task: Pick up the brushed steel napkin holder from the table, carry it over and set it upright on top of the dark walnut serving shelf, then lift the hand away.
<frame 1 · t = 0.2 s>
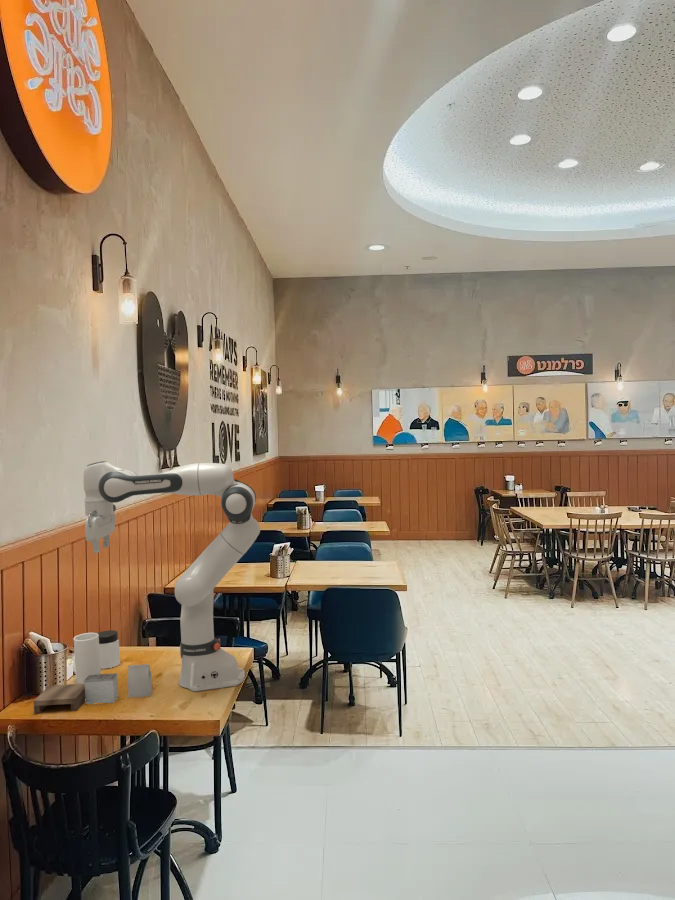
hand: (101, 549, 218), 47 cm above the table, tool pointing down, fingers open, 8 cm apart
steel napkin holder: (102, 701, 208), on the table
jar: (108, 665, 241), on the table
cup: (88, 681, 226), on the table
grey tapered block: (140, 695, 212), on the table
walnut shelf: (62, 704, 207), on the table
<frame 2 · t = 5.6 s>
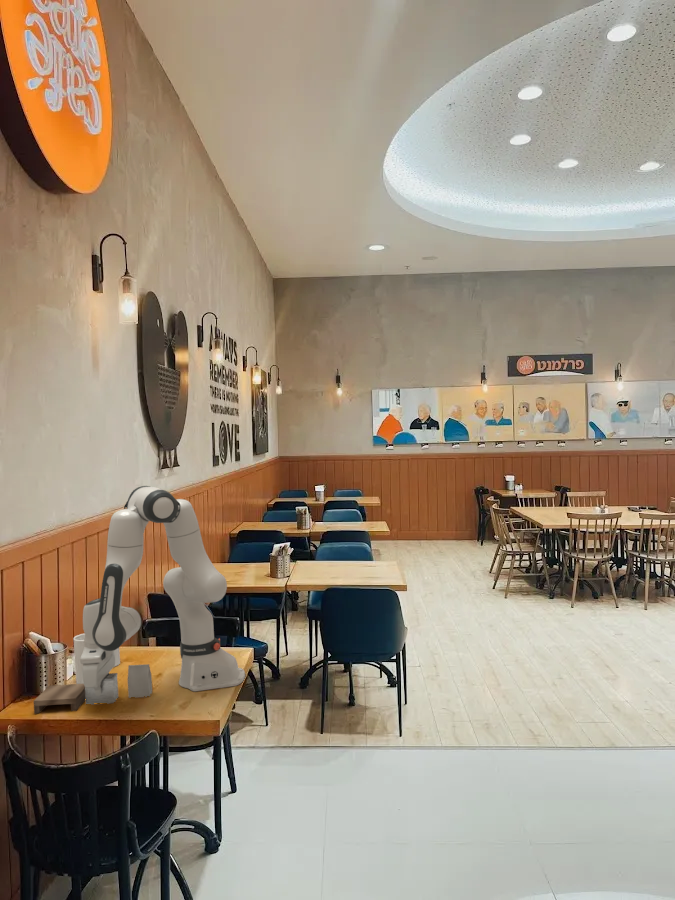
hand: (101, 690, 208), 3 cm above the table, tool pointing down, fingers closed on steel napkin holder, 4 cm apart
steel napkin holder: (102, 700, 208), on the table, touching gripper
everything else where it was.
when the fingers open (9 cm above the table, at t = 13.0 s): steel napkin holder drops 1 cm, resting on walnut shelf.
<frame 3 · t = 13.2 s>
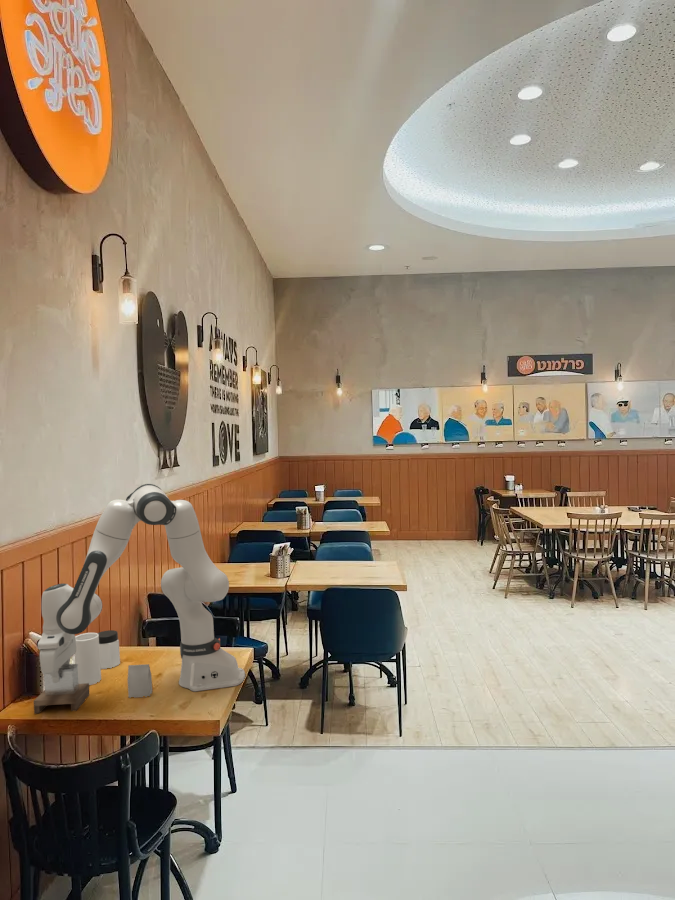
hand: (61, 677, 207), 9 cm above the table, tool pointing down, fingers open, 6 cm apart
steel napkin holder: (62, 691, 207), point 4 cm above the table, touching walnut shelf
everything else where it was.
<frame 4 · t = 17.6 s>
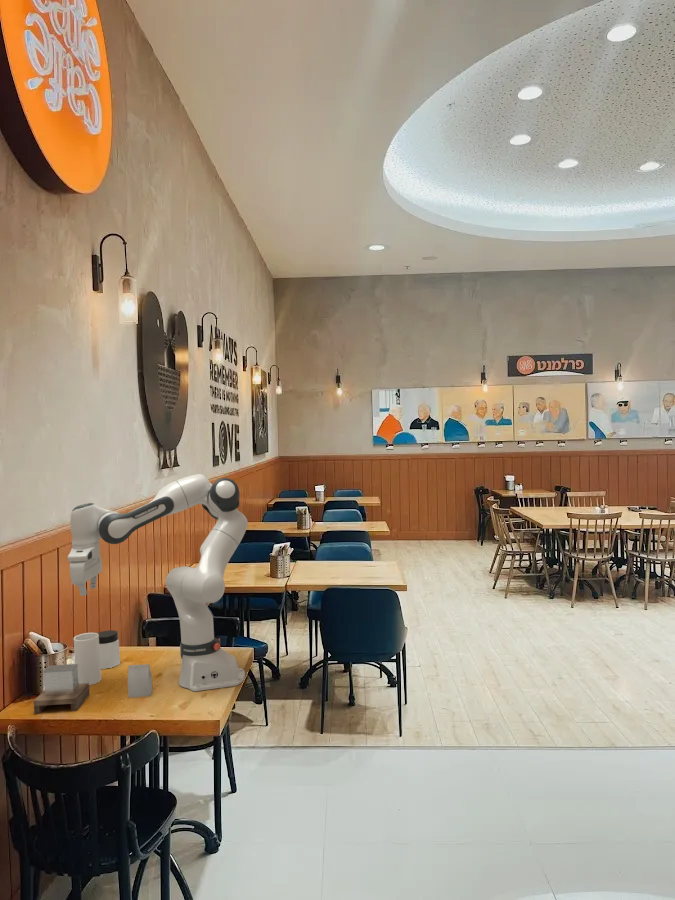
hand: (88, 591, 219), 33 cm above the table, tool pointing down, fingers open, 8 cm apart
nothing on the table moved.
at the end: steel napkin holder inside the target area on the walnut shelf (0.1 cm from its centre), point 4.0 cm above the walnut shelf's base; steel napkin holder tilted 0°; the gripper is holding nothing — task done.
